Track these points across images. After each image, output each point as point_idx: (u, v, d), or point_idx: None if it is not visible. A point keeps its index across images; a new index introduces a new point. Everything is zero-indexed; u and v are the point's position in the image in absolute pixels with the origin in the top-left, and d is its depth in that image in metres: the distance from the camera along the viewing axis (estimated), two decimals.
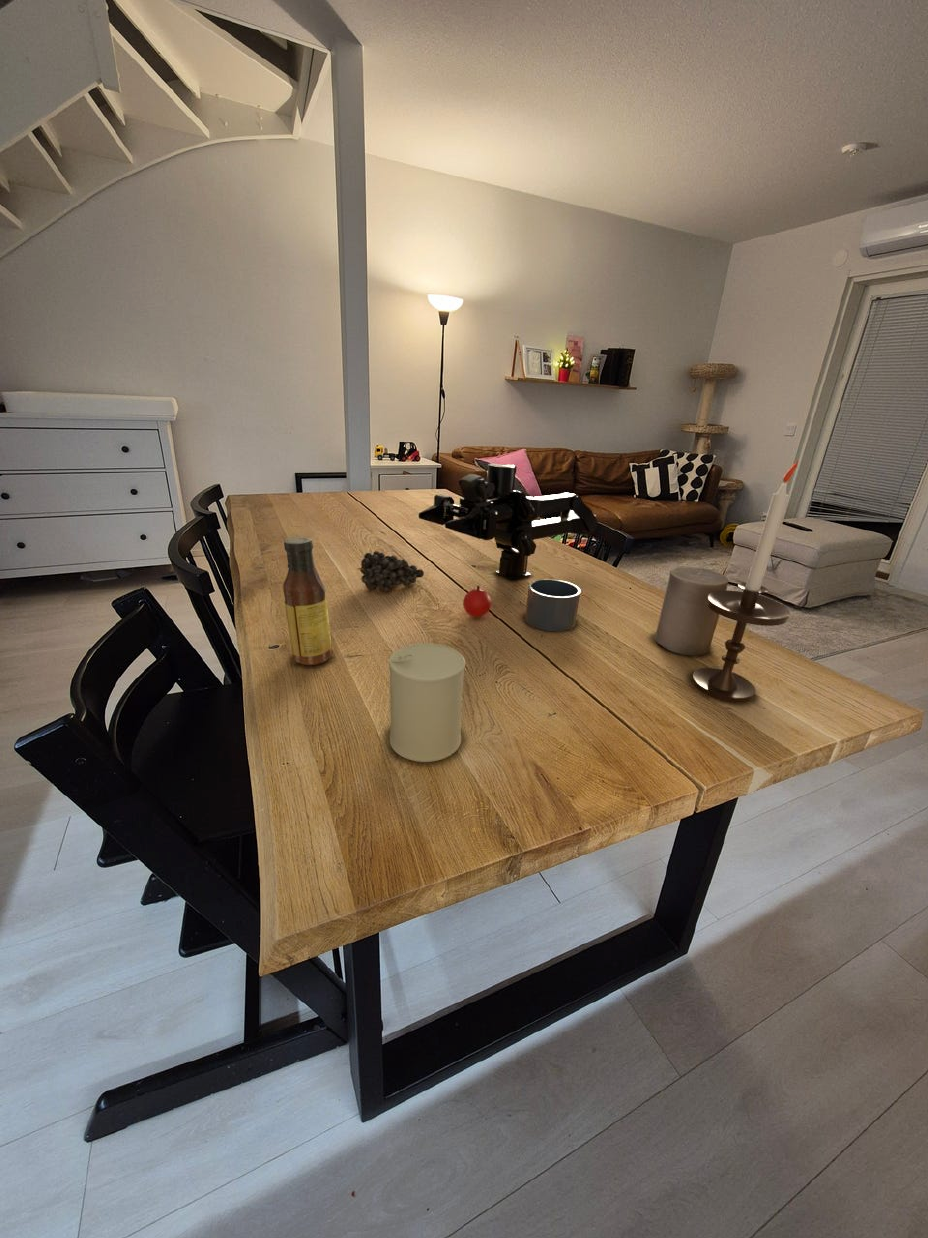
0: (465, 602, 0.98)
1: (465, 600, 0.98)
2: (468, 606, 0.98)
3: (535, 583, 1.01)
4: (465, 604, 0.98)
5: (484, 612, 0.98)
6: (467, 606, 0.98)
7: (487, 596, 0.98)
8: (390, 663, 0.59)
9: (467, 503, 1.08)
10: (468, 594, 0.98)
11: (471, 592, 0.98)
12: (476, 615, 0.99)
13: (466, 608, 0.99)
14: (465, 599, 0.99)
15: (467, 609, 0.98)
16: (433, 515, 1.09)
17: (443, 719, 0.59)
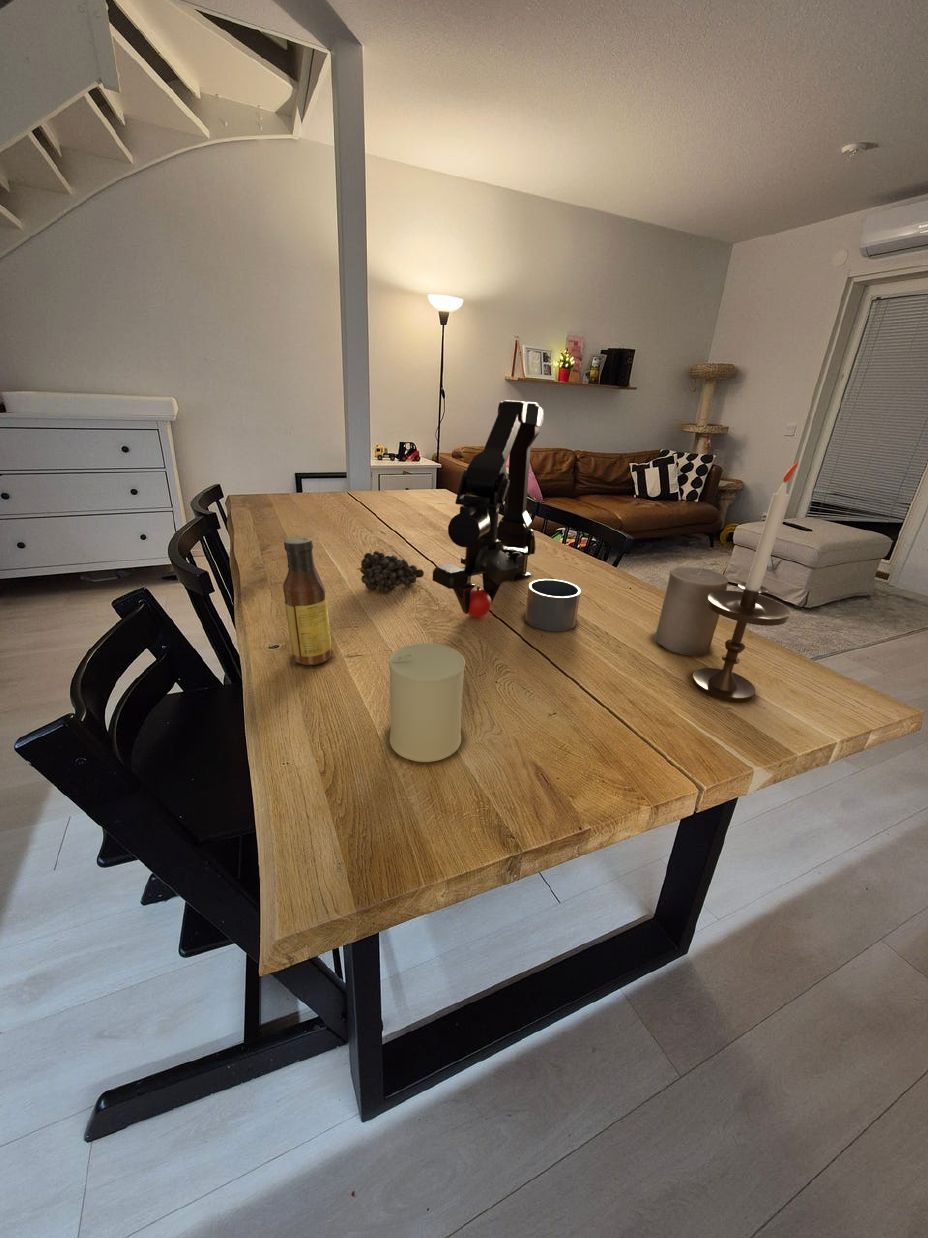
0: None
1: None
2: None
3: (535, 583, 1.01)
4: None
5: (484, 612, 0.98)
6: None
7: (487, 596, 0.98)
8: (390, 663, 0.59)
9: None
10: None
11: (471, 592, 0.98)
12: (476, 615, 0.99)
13: None
14: None
15: None
16: None
17: (443, 719, 0.59)
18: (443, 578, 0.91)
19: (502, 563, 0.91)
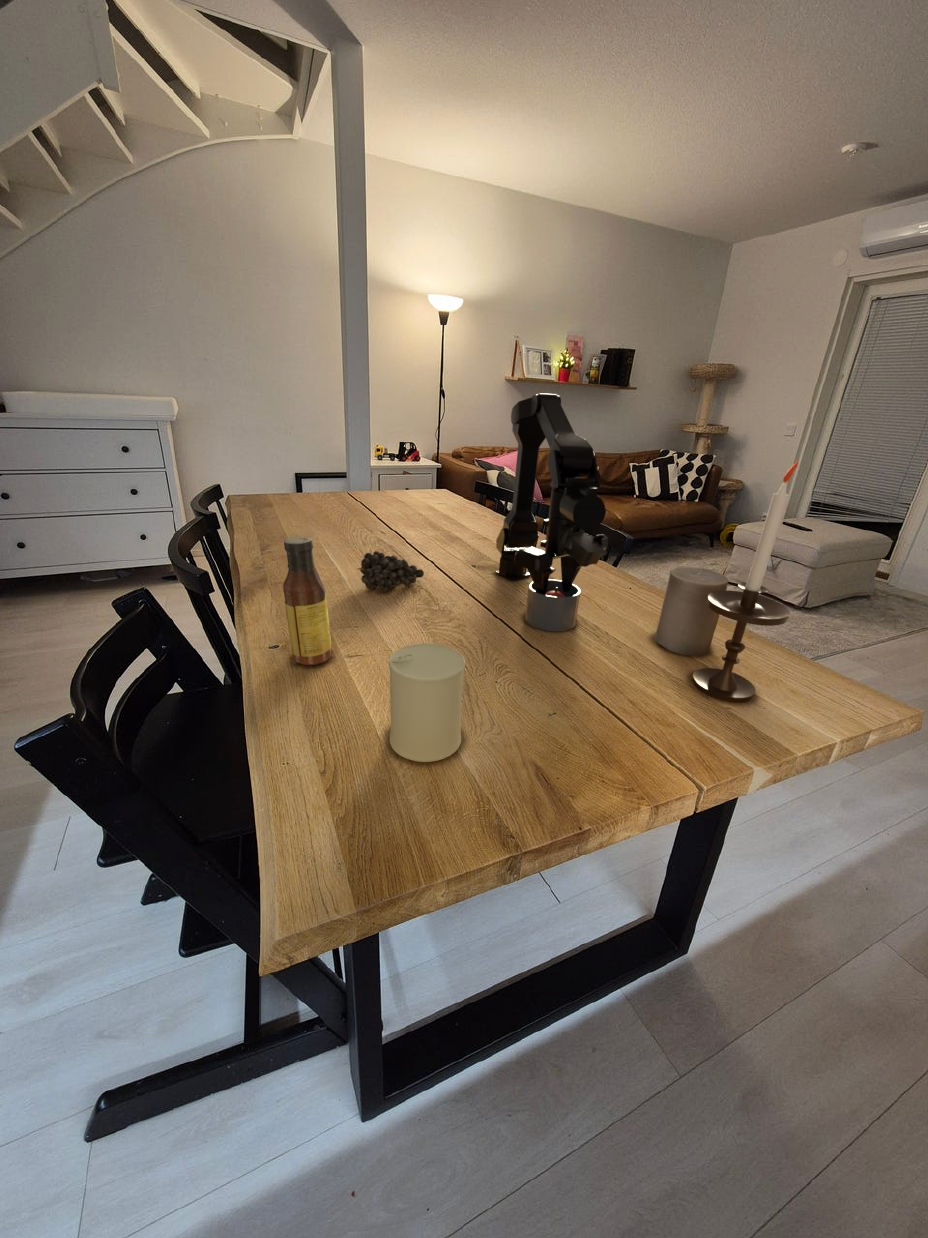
0: None
1: None
2: None
3: None
4: None
5: None
6: None
7: None
8: (390, 663, 0.59)
9: None
10: None
11: (549, 593, 0.98)
12: None
13: None
14: None
15: None
16: None
17: (443, 719, 0.59)
18: (528, 561, 0.89)
19: (588, 545, 0.88)
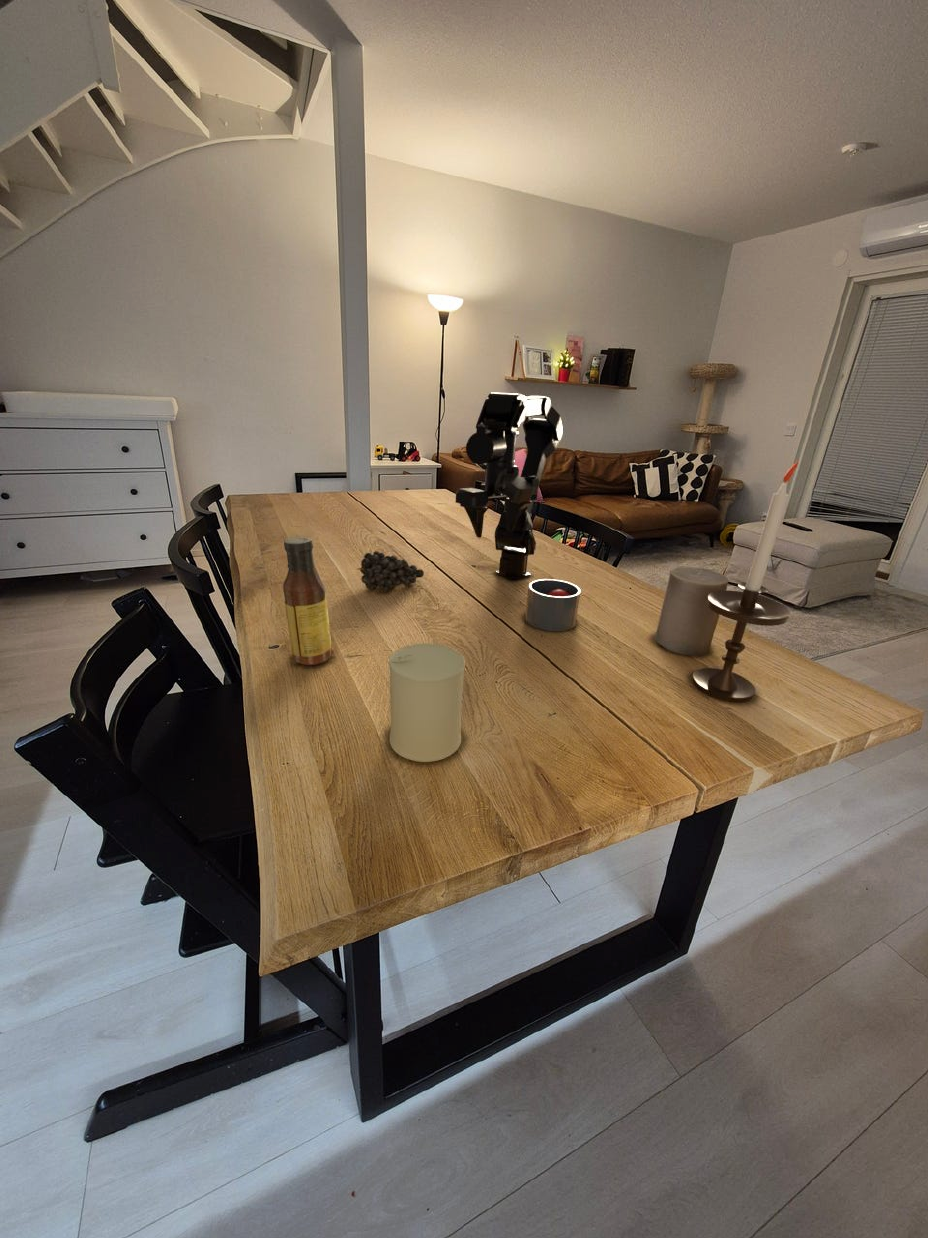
0: (551, 595, 0.99)
1: (551, 593, 0.99)
2: None
3: (535, 583, 1.01)
4: None
5: None
6: None
7: None
8: (390, 663, 0.59)
9: None
10: (556, 590, 0.99)
11: (559, 589, 0.99)
12: None
13: None
14: (551, 592, 0.99)
15: None
16: None
17: (443, 719, 0.59)
18: (466, 498, 0.99)
19: (520, 484, 0.99)
